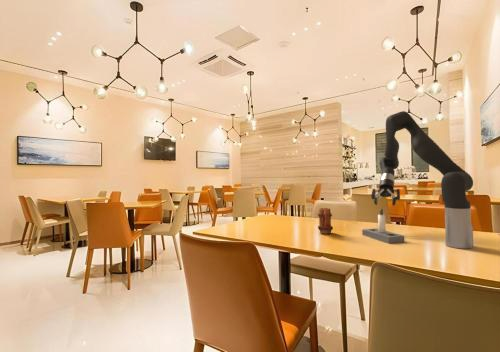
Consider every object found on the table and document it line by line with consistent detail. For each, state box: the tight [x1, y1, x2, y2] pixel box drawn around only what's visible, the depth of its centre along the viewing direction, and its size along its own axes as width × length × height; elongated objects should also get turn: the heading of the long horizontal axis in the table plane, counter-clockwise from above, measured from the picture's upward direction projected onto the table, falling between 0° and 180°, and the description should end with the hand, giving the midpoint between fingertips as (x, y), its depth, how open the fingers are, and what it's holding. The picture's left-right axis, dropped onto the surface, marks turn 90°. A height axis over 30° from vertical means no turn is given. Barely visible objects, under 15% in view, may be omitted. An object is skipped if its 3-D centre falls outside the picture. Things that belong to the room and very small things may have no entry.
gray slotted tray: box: [361, 227, 406, 244], centre depth 140 cm, size 9×20×3 cm, turn 13°
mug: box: [317, 207, 334, 235], centre depth 152 cm, size 15×8×15 cm, turn 172°
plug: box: [377, 208, 387, 233], centre depth 140 cm, size 3×3×15 cm
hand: (384, 204), depth 148 cm, fingers open, 8 cm apart
